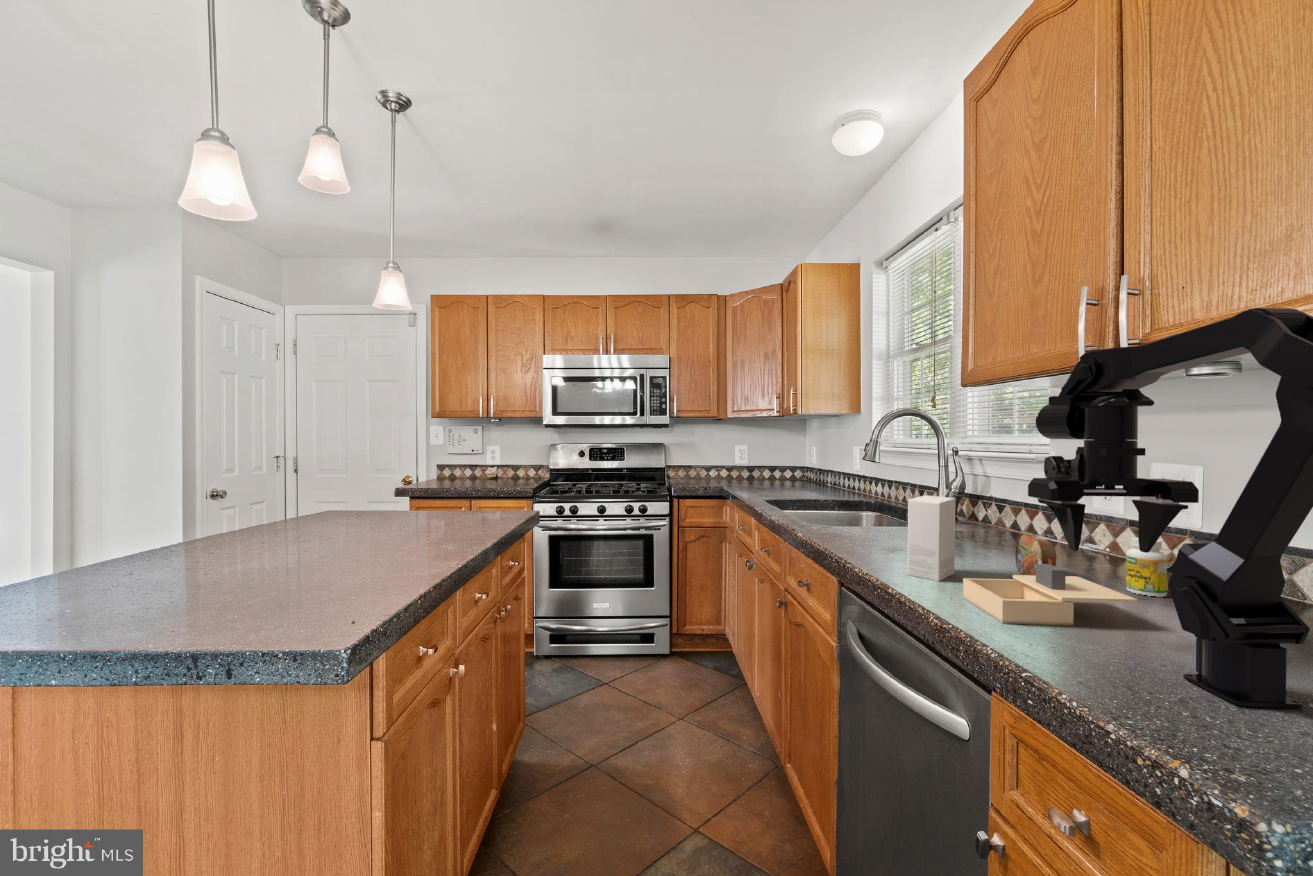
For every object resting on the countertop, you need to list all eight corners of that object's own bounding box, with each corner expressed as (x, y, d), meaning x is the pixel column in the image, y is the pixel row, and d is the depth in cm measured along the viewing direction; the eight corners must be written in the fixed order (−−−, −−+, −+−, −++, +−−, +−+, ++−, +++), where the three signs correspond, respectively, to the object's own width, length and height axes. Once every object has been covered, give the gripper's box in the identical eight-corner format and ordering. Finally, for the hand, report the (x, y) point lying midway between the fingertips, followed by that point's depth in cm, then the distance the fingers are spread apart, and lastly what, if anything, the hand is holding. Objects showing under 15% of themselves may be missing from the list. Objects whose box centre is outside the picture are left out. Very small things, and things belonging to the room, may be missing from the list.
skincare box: (923, 568, 111) (924, 494, 111) (957, 575, 106) (958, 497, 106) (905, 575, 106) (905, 498, 105) (940, 582, 101) (940, 501, 100)
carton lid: (1137, 602, 77) (1137, 579, 77) (1061, 601, 78) (1061, 577, 78) (1077, 579, 90) (1077, 558, 89) (1012, 577, 90) (1012, 557, 90)
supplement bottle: (1174, 596, 92) (1175, 541, 92) (1153, 599, 91) (1154, 543, 90) (1138, 587, 97) (1139, 535, 97) (1118, 590, 96) (1118, 537, 96)
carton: (1073, 625, 78) (1073, 602, 78) (1002, 623, 79) (1002, 600, 79) (1024, 600, 90) (1024, 579, 90) (963, 598, 91) (963, 578, 91)
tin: (1013, 569, 111) (1013, 529, 111) (1031, 570, 110) (1031, 530, 110) (1038, 589, 97) (1039, 543, 96) (1059, 590, 96) (1059, 544, 95)
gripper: (1134, 439, 81) (1133, 540, 81) (1006, 439, 83) (1005, 538, 83) (1203, 440, 70) (1201, 558, 70) (1053, 440, 71) (1052, 555, 72)
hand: (1108, 551), depth 74 cm, fingers open, 9 cm apart
